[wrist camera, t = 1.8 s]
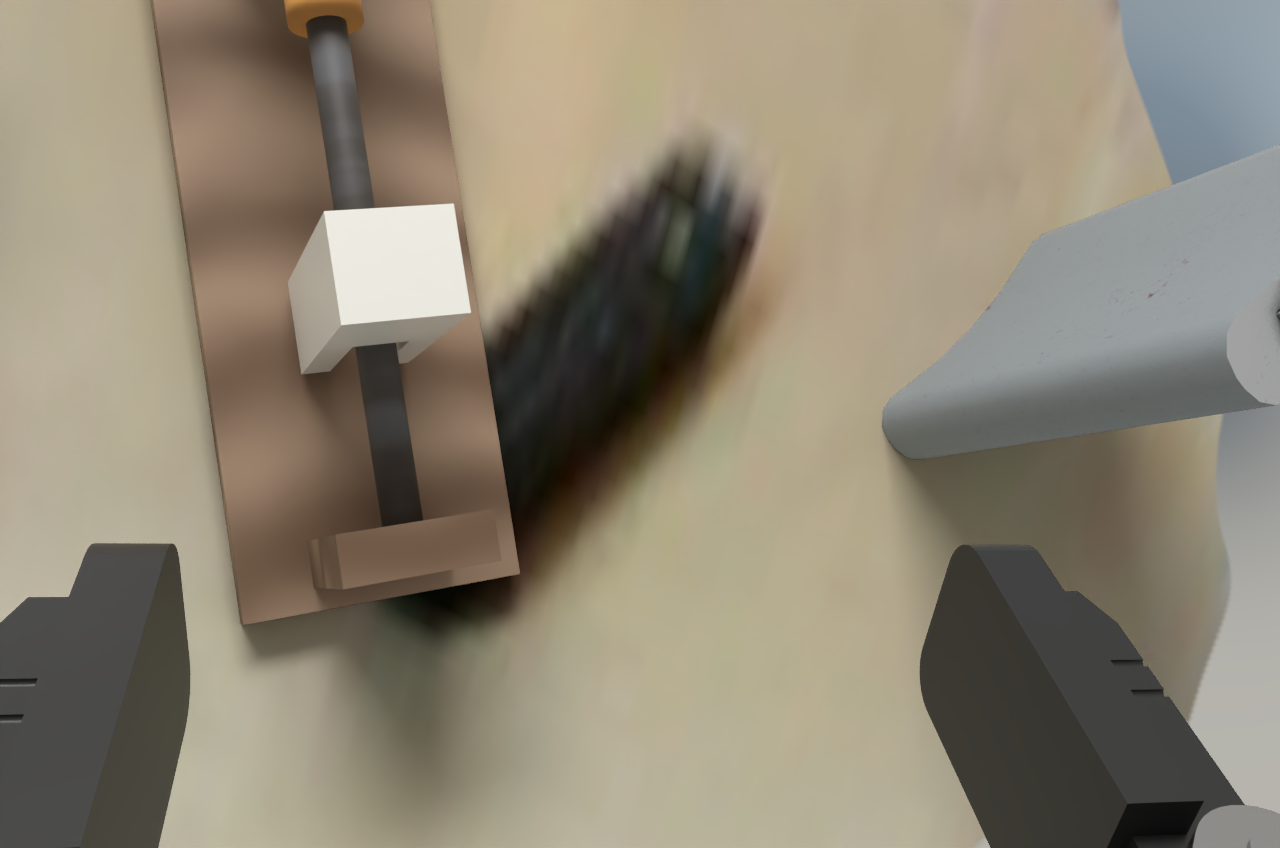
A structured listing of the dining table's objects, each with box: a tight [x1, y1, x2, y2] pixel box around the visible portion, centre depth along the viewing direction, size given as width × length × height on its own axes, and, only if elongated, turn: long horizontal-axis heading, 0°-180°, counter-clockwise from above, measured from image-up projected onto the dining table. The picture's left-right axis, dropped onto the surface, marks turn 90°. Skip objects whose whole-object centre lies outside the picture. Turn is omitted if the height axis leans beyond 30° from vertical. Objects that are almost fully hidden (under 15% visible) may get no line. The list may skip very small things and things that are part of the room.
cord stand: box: [151, 0, 520, 625], centre depth 51 cm, size 32×12×10 cm, turn 10°
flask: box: [882, 145, 1280, 460], centre depth 57 cm, size 17×5×25 cm, turn 134°
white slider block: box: [288, 203, 471, 375], centre depth 48 cm, size 4×5×11 cm
